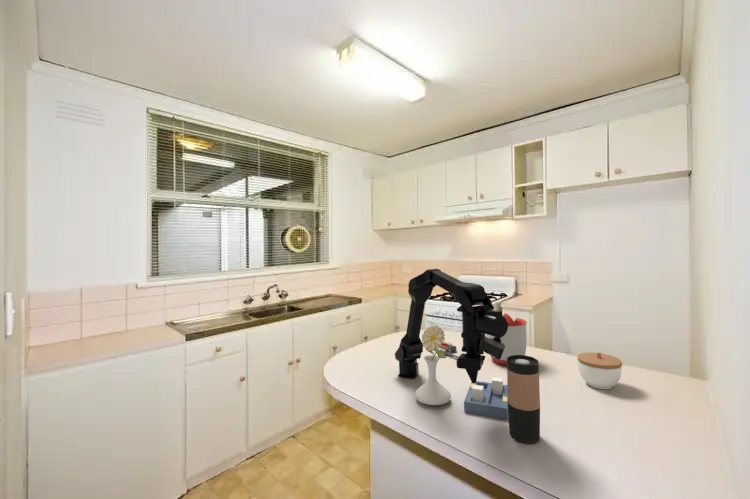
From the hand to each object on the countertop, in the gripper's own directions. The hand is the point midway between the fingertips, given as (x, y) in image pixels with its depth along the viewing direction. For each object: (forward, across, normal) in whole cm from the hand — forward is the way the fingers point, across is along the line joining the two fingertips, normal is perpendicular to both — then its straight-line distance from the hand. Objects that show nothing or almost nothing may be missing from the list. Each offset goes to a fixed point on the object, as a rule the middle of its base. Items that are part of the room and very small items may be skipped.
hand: (474, 382), depth 96 cm
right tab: (+8, +14, -5) cm, 17 cm away
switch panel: (+10, +10, -3) cm, 14 cm away
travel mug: (+10, -5, -13) cm, 17 cm away
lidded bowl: (+10, +36, -36) cm, 52 cm away
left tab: (+8, +6, 0) cm, 11 cm away
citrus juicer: (+10, +50, -6) cm, 51 cm away
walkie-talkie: (+11, +52, +20) cm, 57 cm away
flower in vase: (+10, +5, +13) cm, 17 cm away
